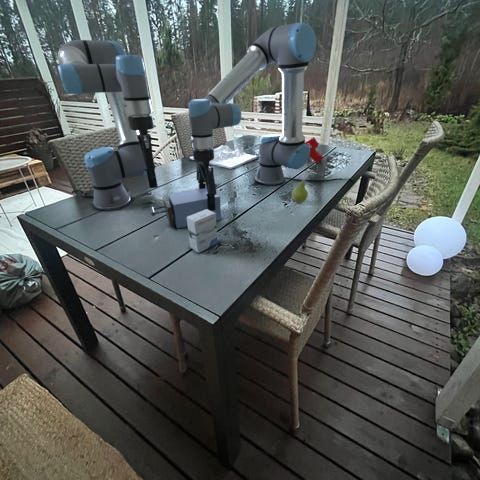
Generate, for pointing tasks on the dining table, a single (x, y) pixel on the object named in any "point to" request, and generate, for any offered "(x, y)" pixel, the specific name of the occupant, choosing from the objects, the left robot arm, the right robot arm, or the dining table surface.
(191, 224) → the ink box
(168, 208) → the drawer
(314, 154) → the toy gun
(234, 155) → the relief map
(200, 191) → the cabinet
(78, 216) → the dining table surface
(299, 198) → the fruit
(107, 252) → the dining table surface
